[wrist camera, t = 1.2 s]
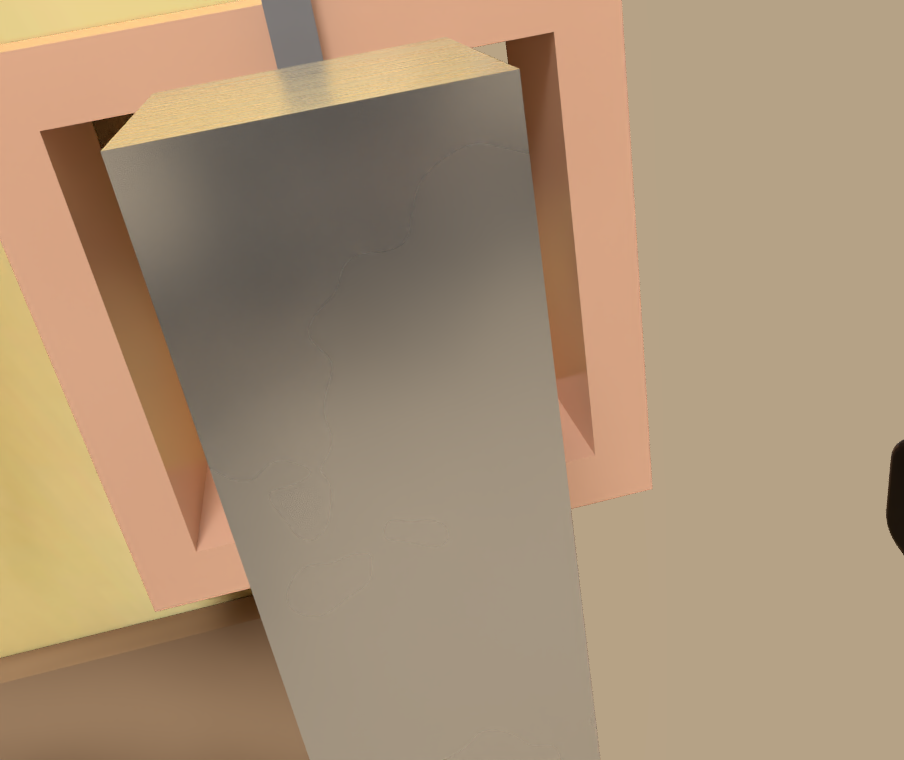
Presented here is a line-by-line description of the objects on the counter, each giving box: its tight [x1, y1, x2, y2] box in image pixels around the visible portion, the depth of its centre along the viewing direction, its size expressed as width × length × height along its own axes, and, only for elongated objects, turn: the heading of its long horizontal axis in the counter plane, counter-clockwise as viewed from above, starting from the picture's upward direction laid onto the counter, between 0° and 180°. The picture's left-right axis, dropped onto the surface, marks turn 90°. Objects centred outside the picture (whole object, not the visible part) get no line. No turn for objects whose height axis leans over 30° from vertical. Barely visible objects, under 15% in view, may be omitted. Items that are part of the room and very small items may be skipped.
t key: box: [100, 37, 600, 760], centre depth 12 cm, size 8×5×9 cm, turn 10°
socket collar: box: [0, 0, 652, 612], centre depth 14 cm, size 10×9×3 cm
